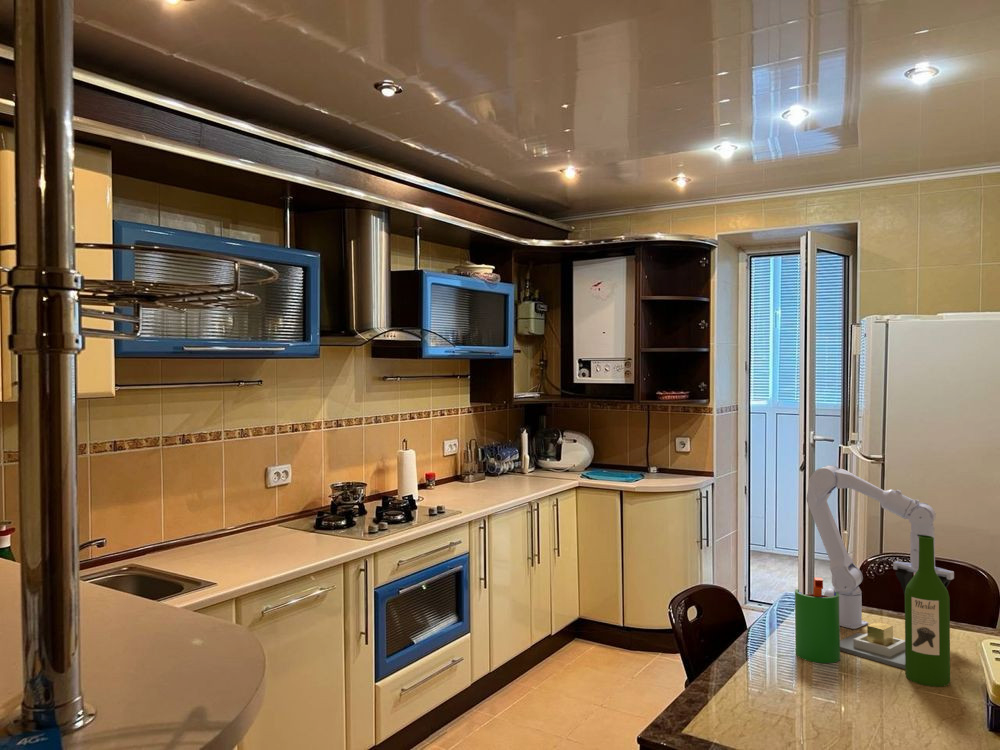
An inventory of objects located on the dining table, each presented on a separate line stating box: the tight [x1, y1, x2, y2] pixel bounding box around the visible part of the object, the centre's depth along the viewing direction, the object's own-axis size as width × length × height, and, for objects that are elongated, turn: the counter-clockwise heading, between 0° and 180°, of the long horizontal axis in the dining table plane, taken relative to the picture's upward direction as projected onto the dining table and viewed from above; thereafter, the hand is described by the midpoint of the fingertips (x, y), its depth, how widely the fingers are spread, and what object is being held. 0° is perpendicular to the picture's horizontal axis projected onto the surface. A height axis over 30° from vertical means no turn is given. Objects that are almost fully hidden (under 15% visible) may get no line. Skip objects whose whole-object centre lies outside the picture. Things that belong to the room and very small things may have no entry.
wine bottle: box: [904, 536, 951, 688], centre depth 173 cm, size 9×9×32 cm
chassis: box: [840, 632, 905, 670], centre depth 191 cm, size 18×14×3 cm
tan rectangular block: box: [866, 621, 894, 647], centre depth 191 cm, size 4×5×6 cm
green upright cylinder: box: [794, 576, 841, 664], centre depth 188 cm, size 10×9×20 cm
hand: (923, 601), depth 201 cm, fingers open, 7 cm apart
